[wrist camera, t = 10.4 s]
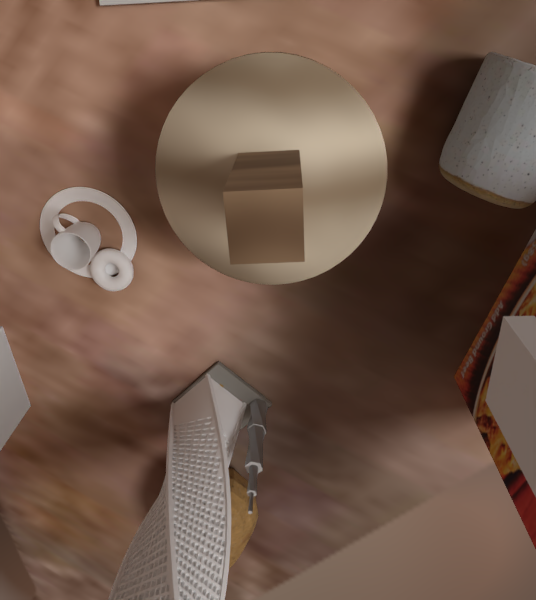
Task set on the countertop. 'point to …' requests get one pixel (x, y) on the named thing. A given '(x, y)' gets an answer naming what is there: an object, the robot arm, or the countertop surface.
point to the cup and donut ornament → (89, 239)
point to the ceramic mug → (496, 135)
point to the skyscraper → (196, 494)
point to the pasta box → (477, 370)
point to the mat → (134, 1)
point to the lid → (271, 168)
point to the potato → (240, 515)
